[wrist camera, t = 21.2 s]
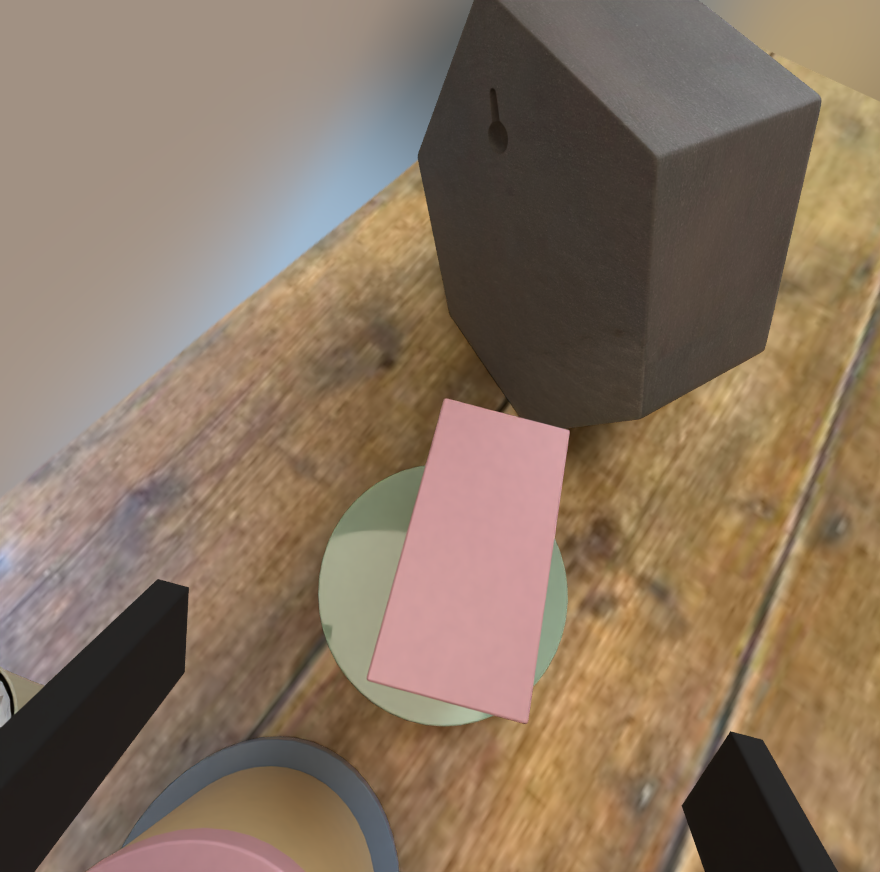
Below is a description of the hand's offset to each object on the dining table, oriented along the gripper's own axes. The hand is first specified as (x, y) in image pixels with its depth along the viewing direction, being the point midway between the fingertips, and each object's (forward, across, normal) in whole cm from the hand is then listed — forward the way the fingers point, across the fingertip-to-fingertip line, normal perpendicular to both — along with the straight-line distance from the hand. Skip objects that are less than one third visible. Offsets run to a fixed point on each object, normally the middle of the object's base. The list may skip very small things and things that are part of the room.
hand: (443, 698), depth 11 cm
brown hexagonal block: (+25, +2, +5) cm, 25 cm away
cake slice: (+12, 0, -6) cm, 13 cm away
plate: (+13, 0, -6) cm, 14 cm away
